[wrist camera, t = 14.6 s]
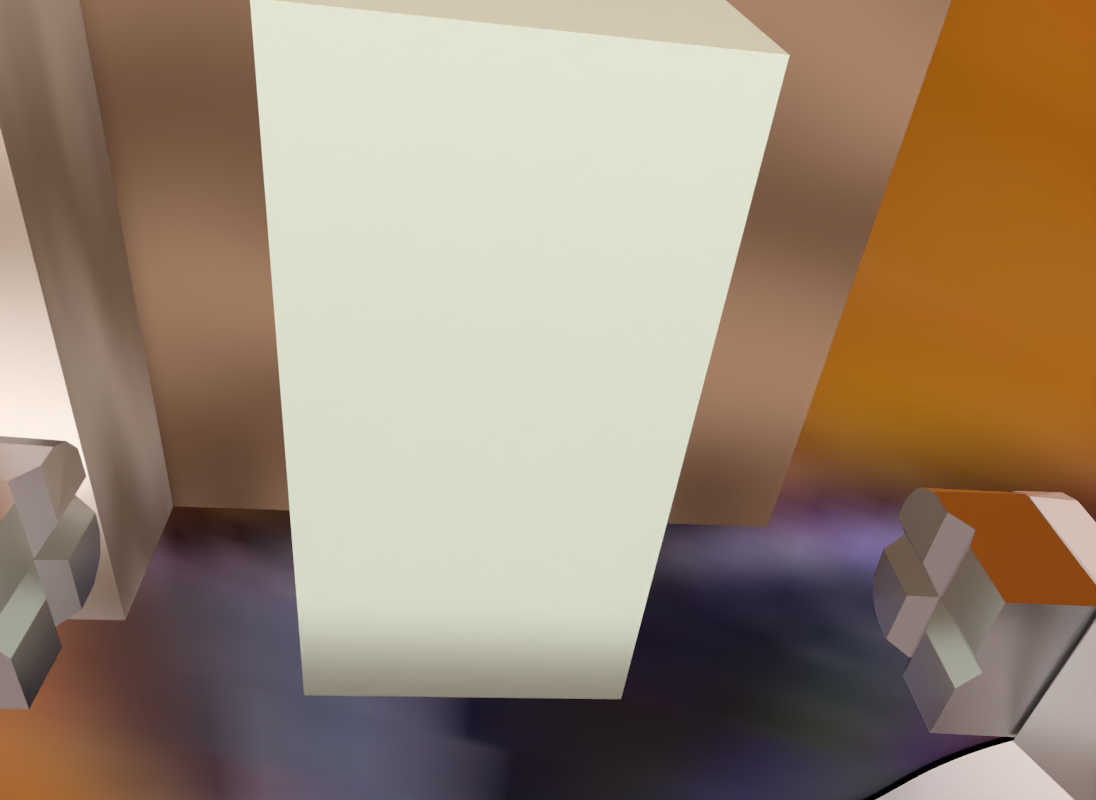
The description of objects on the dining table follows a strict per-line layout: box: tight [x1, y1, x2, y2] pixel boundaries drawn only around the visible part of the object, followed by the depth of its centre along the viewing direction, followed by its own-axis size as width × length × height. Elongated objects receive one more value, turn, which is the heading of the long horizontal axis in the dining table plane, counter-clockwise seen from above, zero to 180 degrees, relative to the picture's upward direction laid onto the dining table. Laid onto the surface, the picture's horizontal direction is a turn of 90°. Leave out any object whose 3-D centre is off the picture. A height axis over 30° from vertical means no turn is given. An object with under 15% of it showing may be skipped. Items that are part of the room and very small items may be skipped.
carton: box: [250, 0, 790, 699], centre depth 11 cm, size 4×8×7 cm, turn 174°
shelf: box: [0, 0, 951, 620], centre depth 14 cm, size 15×14×5 cm
